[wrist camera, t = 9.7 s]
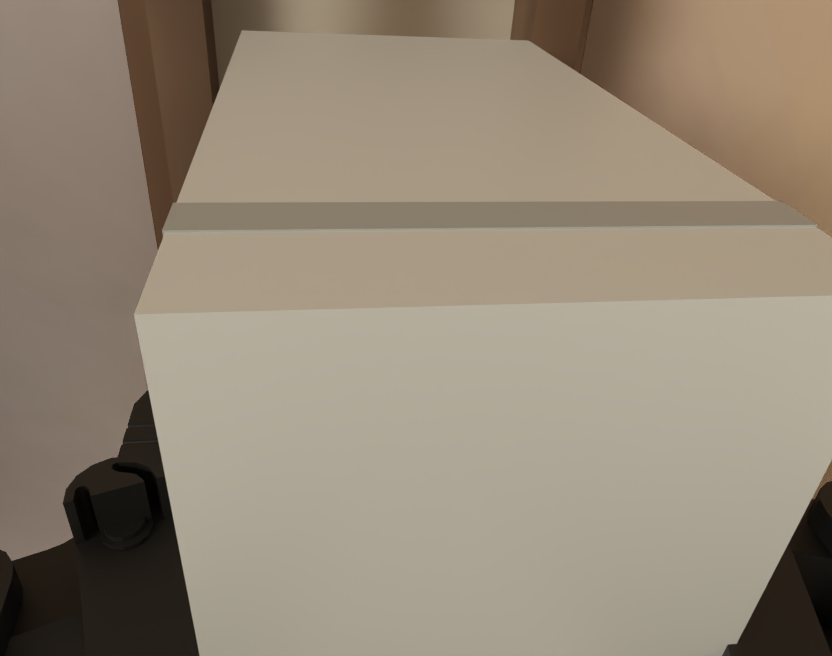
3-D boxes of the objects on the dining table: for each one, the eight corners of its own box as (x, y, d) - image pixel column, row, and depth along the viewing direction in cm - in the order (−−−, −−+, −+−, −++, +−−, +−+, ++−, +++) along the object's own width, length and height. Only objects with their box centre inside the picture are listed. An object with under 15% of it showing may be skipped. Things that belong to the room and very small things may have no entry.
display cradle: (199, 450, 26) (187, 520, 23) (99, -210, 15) (54, -233, 12) (501, 432, 28) (526, 495, 25) (600, -167, 17) (662, -178, 14)
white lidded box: (273, 468, 20) (255, 951, 11) (240, 28, 14) (131, 311, 5) (472, 456, 21) (609, 891, 12) (529, 39, 15) (919, 290, 5)
